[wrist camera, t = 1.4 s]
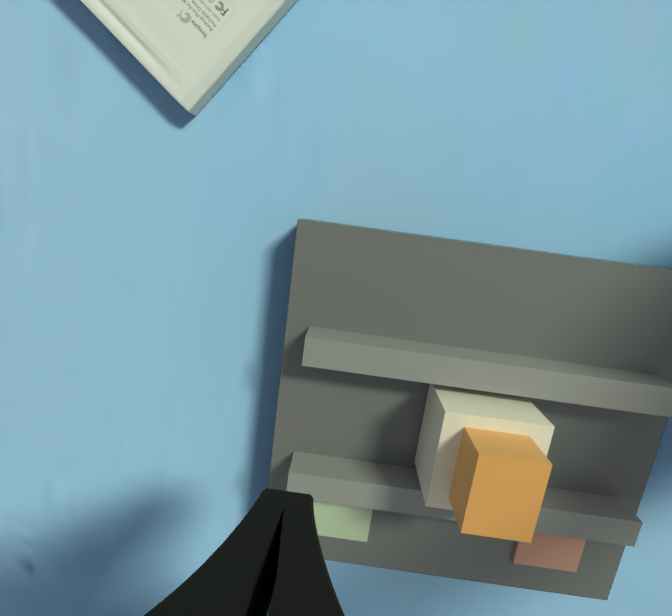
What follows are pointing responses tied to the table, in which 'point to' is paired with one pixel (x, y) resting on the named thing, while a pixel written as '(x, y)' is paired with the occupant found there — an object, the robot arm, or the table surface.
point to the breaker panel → (477, 374)
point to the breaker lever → (484, 460)
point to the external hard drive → (190, 39)
